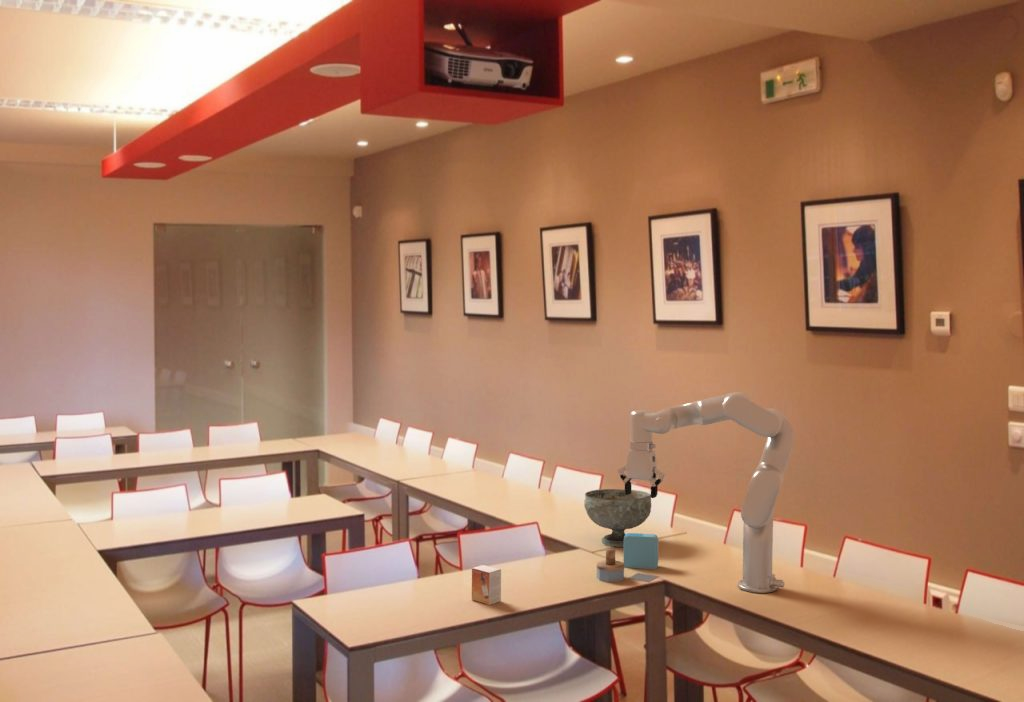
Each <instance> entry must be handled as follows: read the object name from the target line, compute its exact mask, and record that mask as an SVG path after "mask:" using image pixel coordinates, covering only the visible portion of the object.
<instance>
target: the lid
mask: <svg viewBox="0 0 1024 702" xmlns="http://www.w3.org/2000/svg"><path fill="white" fill-rule="evenodd" d="M597 568H598V569H601V570H606V571H617V570H622V569H624V570H625V568H626V567H625V564H624V563H623V562H622V561H619V560H616V549H615V548H611V547H610V548H606V549H605V560H600V561H597V562H596V569H597Z"/></svg>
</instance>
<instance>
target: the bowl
mask: <svg viewBox="0 0 1024 702" xmlns="http://www.w3.org/2000/svg"><path fill="white" fill-rule="evenodd" d="M596 578H597V580H599V581H600V582H606V583H619V582H621V581H623V580H625V568H624V569H622V570H617V571H606V570H601V569H598V568H597V567H596Z"/></svg>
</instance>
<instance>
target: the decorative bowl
mask: <svg viewBox="0 0 1024 702" xmlns="http://www.w3.org/2000/svg"><path fill="white" fill-rule="evenodd" d="M584 497H585V498H584V500H583V501H584V504H583V505H584V509H585V511H586V514H587V516H588V518H589V519H590V520H591V522H593V523H594V524H596V526H599V527H601V528H604V529H610V530H611V531H612V533H610V534H606V535H604V536H603V537H602V538H601V544H602V543H603V544H602V545H604V544H605V546H608V545H609V546H608V547H614V546H616V548H617V547H618V548H619V547H620V548H623V545H624V537H625V535H626V534H627V533H625V531H626V530H630V529H634V528H636V527H639V526H640V525H642V524H643V523H644V522H645V521H646V520H647V519H648V518H649V517H650V514H651V512H652V498H651V492H650V493H649V492H647V491H643V490H642V491H641V490H635V489H631V494H629V495H626V494H625V488H602V489H594V490H589V491H587V492H585V493H584Z"/></svg>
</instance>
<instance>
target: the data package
mask: <svg viewBox="0 0 1024 702" xmlns="http://www.w3.org/2000/svg"><path fill="white" fill-rule="evenodd" d="M625 534H626V535H625V537H624V545H623V547H622V548H623V550H622V551H623V552H622V553H623V559H622V560H623V563H624V564H625V567H624V568H628V569H631V568H632V569H650V570H651V569H652V570H657V569H658V565H659V536H657V534H654V533H640V532H639V533H637V532H634V533H633V532H632V533H631V532H630V533H629V532H627V533H625Z"/></svg>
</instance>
